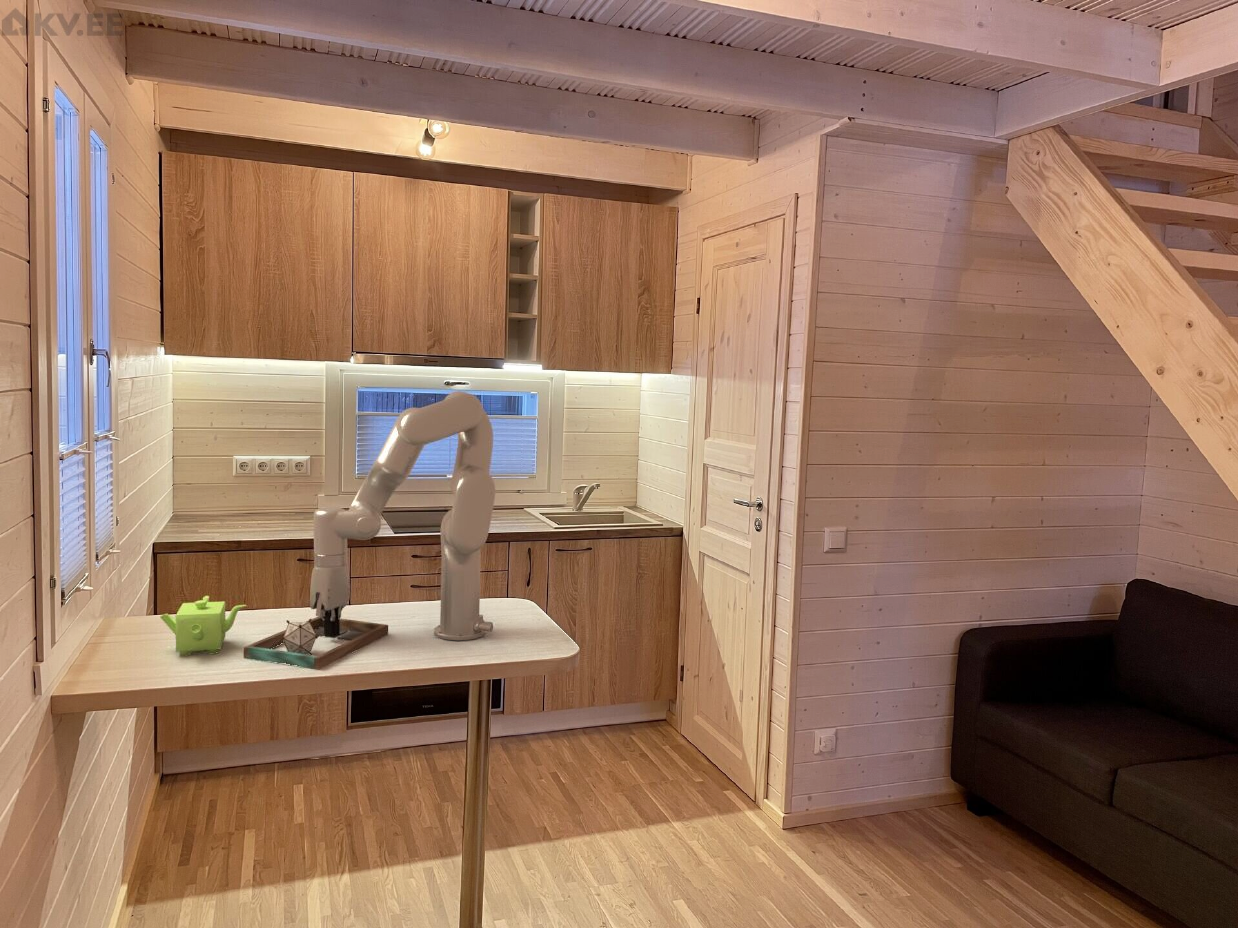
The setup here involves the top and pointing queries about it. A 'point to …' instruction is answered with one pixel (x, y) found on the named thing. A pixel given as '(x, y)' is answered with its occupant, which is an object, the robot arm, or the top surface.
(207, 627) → the kettle
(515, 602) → the top surface
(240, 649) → the top surface
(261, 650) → the shallow open wooden box
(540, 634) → the top surface
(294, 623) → the game die
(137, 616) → the top surface
